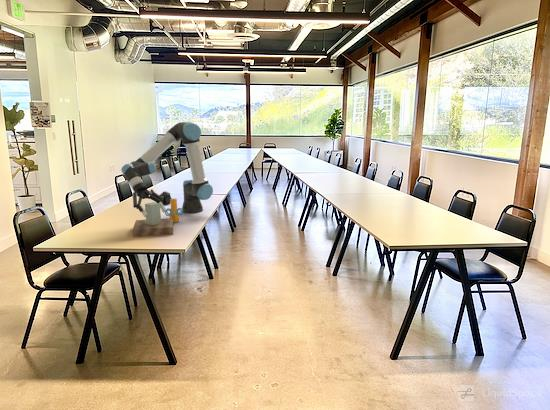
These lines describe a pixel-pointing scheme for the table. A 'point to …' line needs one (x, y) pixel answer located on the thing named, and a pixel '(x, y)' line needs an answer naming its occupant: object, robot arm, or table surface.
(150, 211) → the sage block
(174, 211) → the orange post with rings
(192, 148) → the robot arm
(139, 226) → the walnut block
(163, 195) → the camera
